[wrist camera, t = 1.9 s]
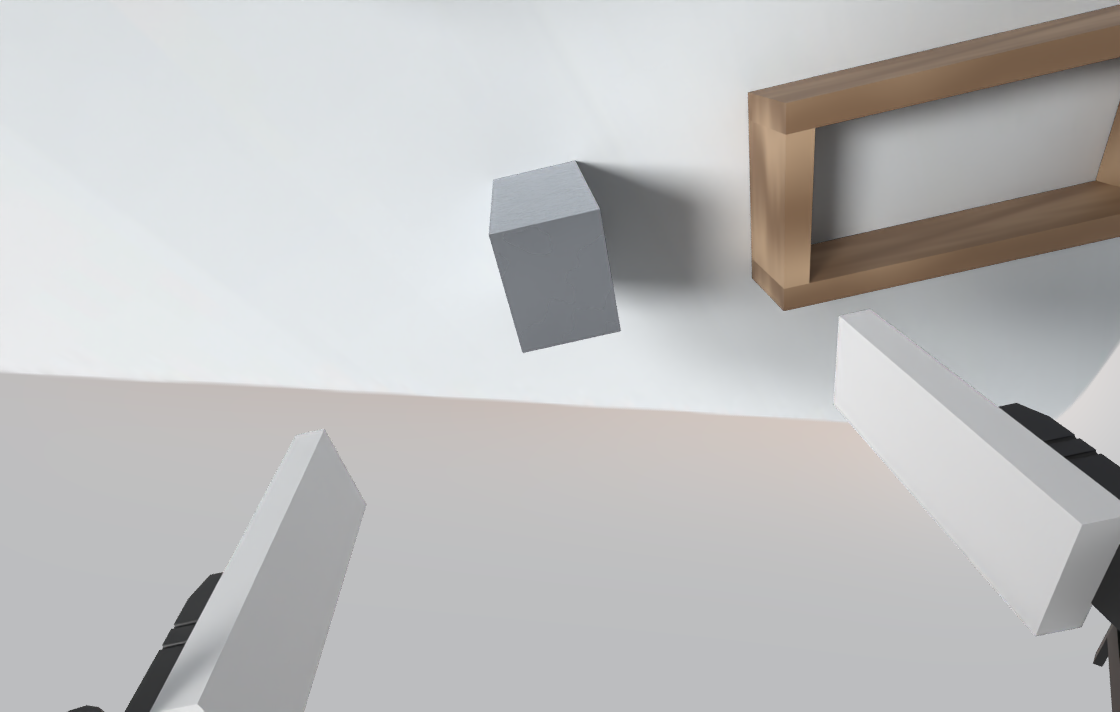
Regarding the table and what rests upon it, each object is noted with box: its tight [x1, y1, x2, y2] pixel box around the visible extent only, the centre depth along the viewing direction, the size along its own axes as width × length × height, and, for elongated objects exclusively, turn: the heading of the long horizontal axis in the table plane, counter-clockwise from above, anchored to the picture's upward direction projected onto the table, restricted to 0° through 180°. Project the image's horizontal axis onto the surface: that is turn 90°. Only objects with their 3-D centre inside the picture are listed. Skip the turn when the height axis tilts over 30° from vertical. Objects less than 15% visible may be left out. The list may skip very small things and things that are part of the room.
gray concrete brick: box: [489, 161, 621, 353], centre depth 24 cm, size 5×4×8 cm
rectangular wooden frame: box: [748, 5, 1120, 311], centre depth 25 cm, size 9×19×4 cm, turn 102°
